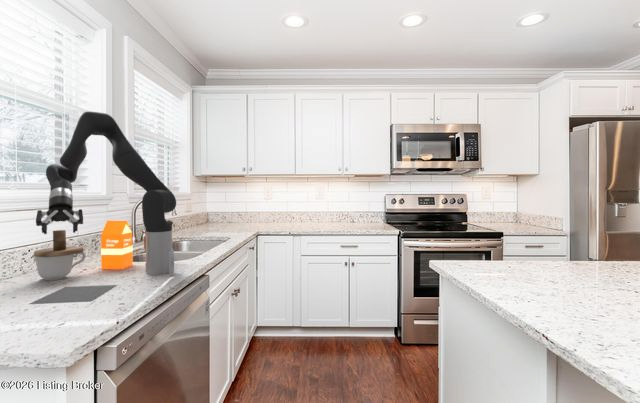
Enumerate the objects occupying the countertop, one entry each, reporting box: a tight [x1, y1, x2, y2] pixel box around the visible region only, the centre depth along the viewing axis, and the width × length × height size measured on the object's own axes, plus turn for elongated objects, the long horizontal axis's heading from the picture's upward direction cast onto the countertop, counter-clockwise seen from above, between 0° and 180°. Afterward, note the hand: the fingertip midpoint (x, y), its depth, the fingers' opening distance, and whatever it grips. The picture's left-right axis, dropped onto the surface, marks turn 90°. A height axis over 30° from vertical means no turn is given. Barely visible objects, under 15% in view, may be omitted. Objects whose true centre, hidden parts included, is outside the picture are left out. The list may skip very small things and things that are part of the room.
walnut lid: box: [33, 229, 85, 257], centre depth 115 cm, size 14×14×8 cm
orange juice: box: [100, 220, 134, 270], centre depth 136 cm, size 8×9×20 cm
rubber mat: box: [29, 284, 118, 305], centre depth 98 cm, size 16×16×1 cm
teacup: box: [32, 251, 86, 281], centre depth 116 cm, size 12×15×10 cm
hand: (60, 232), depth 120 cm, fingers open, 8 cm apart
